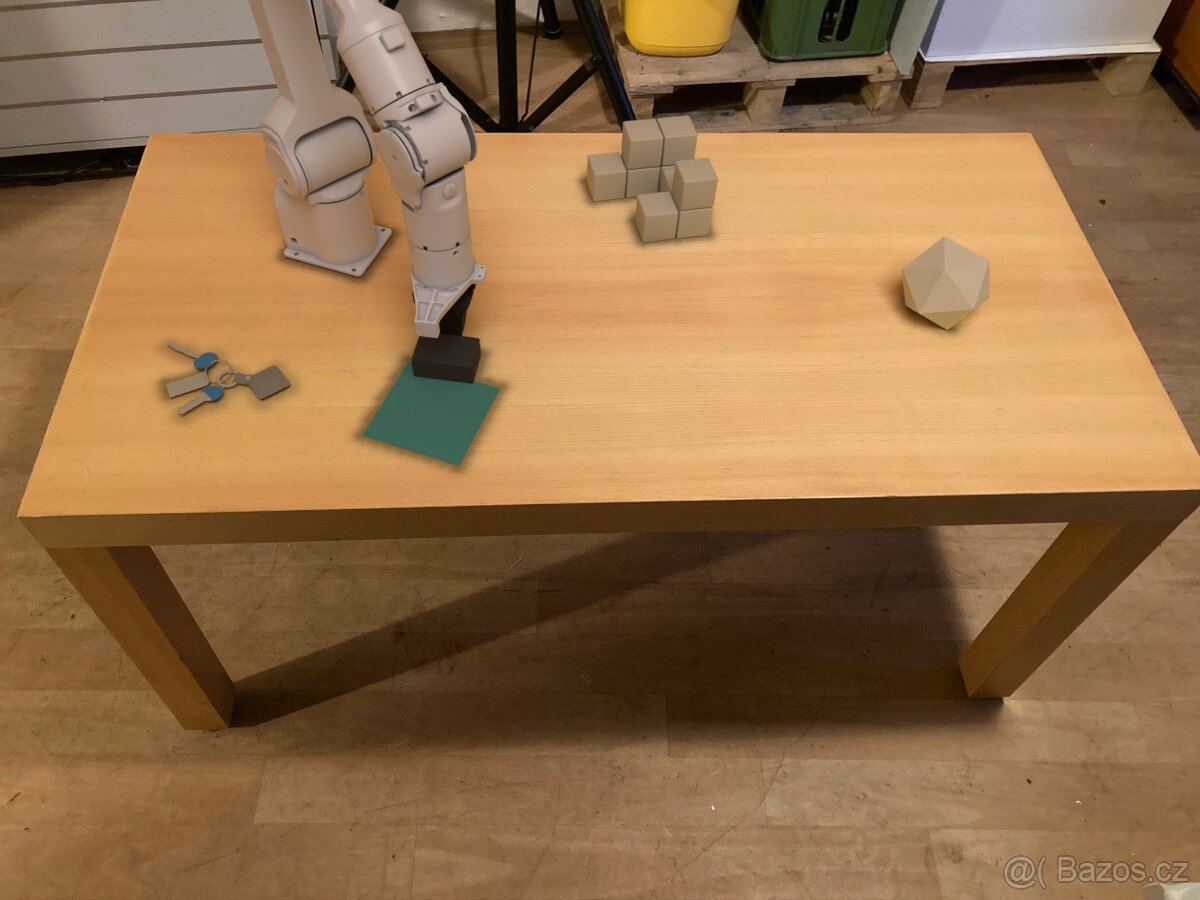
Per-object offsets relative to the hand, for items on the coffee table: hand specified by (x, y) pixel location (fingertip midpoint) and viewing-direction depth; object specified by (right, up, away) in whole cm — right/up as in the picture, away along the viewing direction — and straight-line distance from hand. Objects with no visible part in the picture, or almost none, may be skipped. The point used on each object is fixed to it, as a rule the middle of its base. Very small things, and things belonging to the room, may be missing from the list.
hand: (452, 335), depth 93 cm
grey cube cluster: (+21, +17, +16) cm, 31 cm away
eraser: (0, -3, -1) cm, 3 cm away
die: (+52, +3, +7) cm, 52 cm away
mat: (-1, -8, -4) cm, 9 cm away
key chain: (-23, -6, -4) cm, 24 cm away
